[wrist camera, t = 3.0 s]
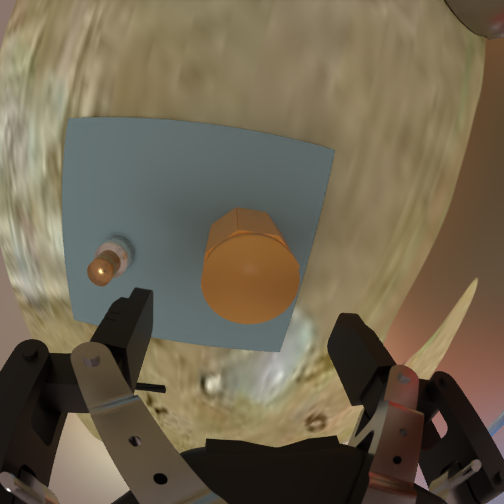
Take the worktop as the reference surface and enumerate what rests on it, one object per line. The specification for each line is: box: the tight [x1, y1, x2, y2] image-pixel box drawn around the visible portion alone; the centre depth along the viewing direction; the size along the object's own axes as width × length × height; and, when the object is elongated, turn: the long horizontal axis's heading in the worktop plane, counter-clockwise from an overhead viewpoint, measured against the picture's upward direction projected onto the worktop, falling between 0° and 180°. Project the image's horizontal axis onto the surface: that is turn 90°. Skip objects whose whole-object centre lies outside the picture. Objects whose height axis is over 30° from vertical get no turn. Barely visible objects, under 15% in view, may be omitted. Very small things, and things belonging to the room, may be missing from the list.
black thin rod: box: [135, 383, 166, 393], centre depth 26 cm, size 12×1×1 cm, turn 88°
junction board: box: [62, 117, 335, 352], centre depth 20 cm, size 20×18×2 cm
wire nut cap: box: [201, 207, 300, 324], centre depth 17 cm, size 5×5×6 cm
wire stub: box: [87, 235, 134, 287], centre depth 17 cm, size 3×3×4 cm
